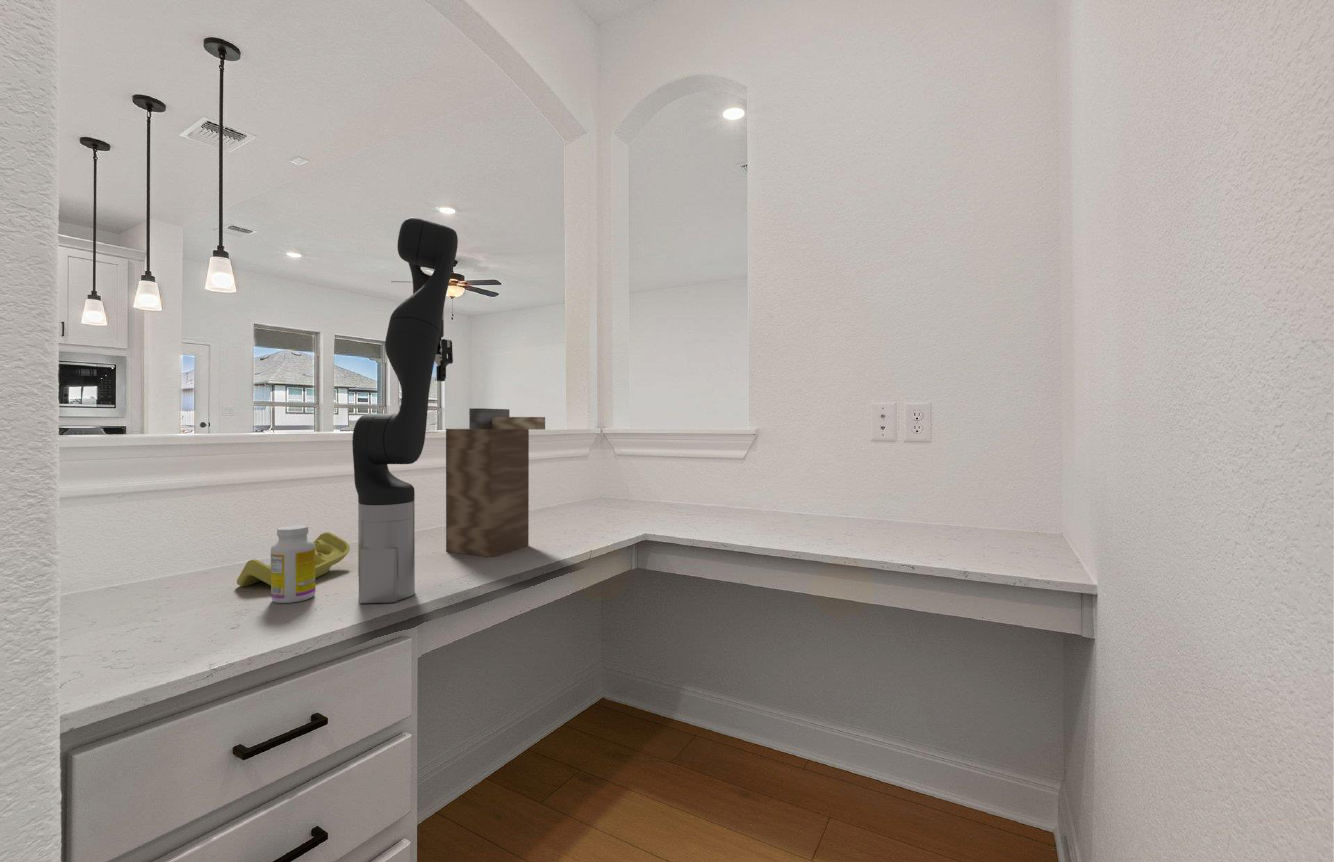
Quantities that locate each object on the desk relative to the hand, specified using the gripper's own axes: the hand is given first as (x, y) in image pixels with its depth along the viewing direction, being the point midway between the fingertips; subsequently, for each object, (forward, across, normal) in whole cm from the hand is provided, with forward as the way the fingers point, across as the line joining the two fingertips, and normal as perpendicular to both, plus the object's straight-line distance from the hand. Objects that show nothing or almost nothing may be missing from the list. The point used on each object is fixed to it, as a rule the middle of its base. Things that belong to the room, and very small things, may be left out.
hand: (427, 381), depth 147 cm
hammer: (+12, -24, -3) cm, 27 cm away
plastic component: (+42, +1, +33) cm, 54 cm away
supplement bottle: (+42, -12, +43) cm, 62 cm away
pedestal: (+42, -16, -3) cm, 45 cm away
